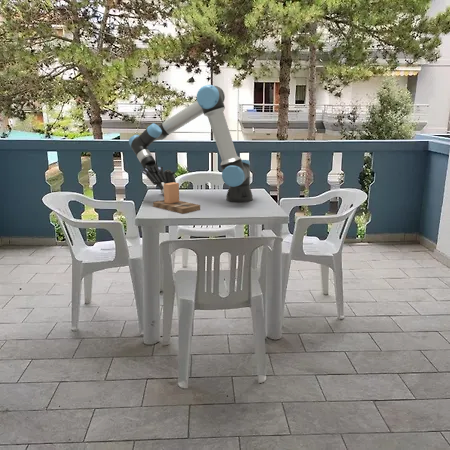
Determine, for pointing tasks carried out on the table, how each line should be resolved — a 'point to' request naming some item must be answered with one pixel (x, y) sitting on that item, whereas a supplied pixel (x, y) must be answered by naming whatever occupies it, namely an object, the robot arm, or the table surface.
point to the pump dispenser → (169, 177)
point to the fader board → (177, 206)
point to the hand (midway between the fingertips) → (167, 193)
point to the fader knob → (171, 192)
